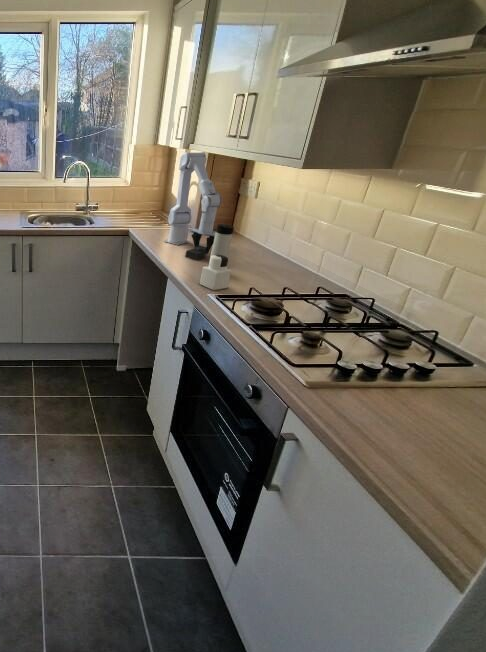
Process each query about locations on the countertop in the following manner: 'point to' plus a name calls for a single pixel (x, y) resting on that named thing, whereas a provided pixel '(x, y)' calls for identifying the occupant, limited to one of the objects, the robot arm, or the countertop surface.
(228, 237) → the travel mug
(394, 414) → the countertop surface
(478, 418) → the countertop surface
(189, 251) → the black notched block
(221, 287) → the white block with post
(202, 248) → the grey t-shaped block
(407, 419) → the countertop surface
